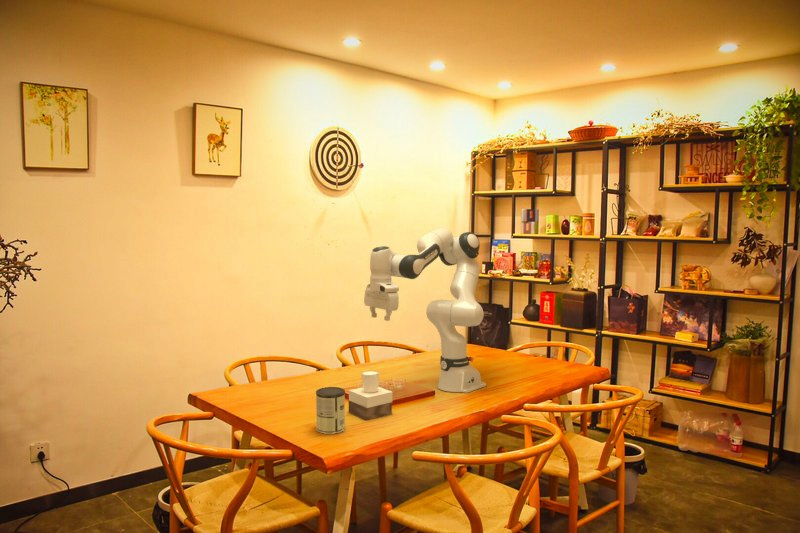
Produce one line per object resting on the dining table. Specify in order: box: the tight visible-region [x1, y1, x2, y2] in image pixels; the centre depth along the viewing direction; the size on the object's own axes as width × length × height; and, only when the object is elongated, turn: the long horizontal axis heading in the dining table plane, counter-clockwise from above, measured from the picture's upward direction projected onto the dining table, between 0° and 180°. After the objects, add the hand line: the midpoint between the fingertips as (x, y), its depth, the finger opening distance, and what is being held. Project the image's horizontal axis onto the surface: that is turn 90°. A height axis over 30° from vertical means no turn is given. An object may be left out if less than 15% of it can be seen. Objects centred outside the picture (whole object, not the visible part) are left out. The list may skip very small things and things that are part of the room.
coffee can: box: [315, 386, 346, 435], centre depth 220 cm, size 10×10×14 cm
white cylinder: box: [361, 370, 380, 393], centre depth 238 cm, size 7×7×7 cm
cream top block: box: [348, 386, 393, 408], centre depth 239 cm, size 12×12×4 cm
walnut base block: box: [348, 400, 393, 421], centre depth 239 cm, size 12×12×5 cm
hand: (380, 318), depth 258 cm, fingers open, 8 cm apart
